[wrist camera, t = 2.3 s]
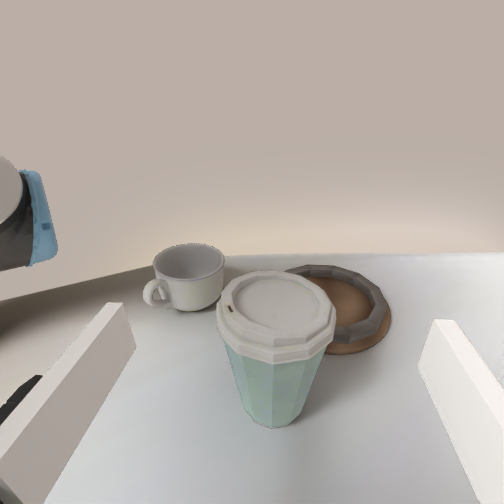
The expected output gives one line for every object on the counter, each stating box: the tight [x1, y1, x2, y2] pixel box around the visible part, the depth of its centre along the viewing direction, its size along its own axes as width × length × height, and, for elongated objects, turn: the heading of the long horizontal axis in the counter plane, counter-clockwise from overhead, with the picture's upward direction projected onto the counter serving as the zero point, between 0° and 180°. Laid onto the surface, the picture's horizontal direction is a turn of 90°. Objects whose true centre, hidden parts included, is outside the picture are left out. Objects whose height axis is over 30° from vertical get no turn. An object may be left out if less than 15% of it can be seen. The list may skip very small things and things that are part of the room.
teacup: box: [143, 243, 224, 311], centre depth 46 cm, size 14×11×8 cm
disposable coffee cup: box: [216, 270, 337, 428], centre depth 29 cm, size 11×11×15 cm
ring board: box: [284, 265, 391, 354], centre depth 46 cm, size 19×19×2 cm
